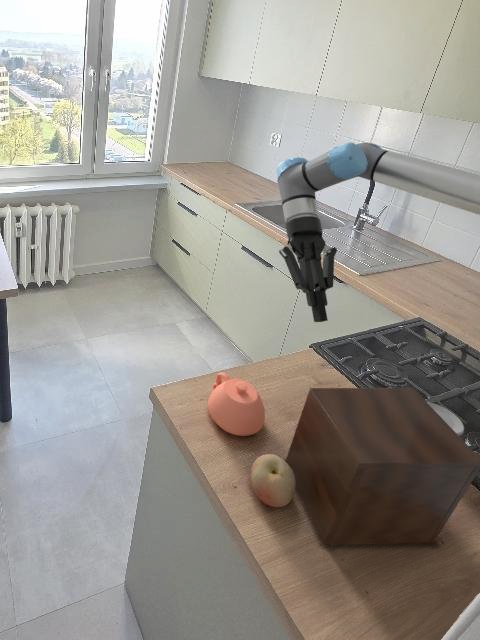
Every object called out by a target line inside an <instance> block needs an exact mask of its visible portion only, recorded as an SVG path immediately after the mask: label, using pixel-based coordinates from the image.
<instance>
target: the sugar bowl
mask: <svg viewBox="0 0 480 640" xmlns="http://www.w3.org/2000/svg"><path fill="white" fill-rule="evenodd" d="M222 378H223V379H222ZM222 380H224V381H222ZM212 389H213V390H212V392H211V393H210V395H209V397H208V401H207V410H208V413H209V415H210V417H211V419H212V420H213V422H214V423H215V424H216V425H217V426H218V427H220V428H221V429H222V430H223V431H224V432H226V433H228V434H231V435H233V436H234V435H235V436H238V437H239V436H240V437H247V436H251V435H254V434H257V433H258V432H259V431H260V430H261V429H262V428H263V426H264V424H265V420H266V411H265V406H264V403H263V402H264V401H263V399H262V398H261V396H260V394H259V392H258V390H257V389H256V388H255V387H254V386H253V385H252V384H251V383H249V382H248V381H247V380H243V379H240V378H231V377H230V376H229V374H227V373H226V372H224V371H222V372H218V373H217V374H216V377H215V382H214V384H212Z"/></svg>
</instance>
